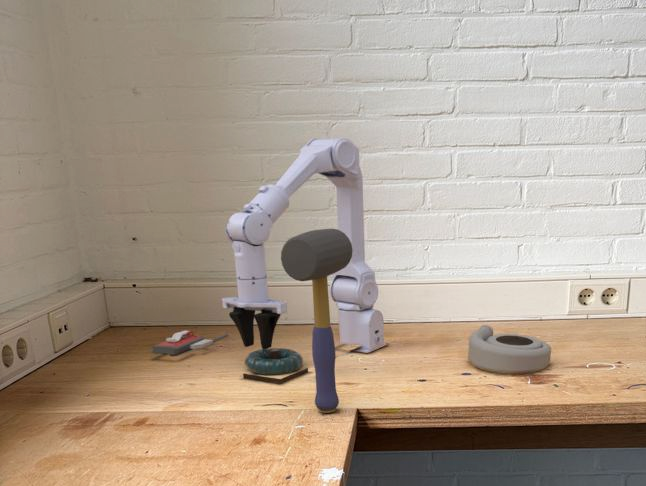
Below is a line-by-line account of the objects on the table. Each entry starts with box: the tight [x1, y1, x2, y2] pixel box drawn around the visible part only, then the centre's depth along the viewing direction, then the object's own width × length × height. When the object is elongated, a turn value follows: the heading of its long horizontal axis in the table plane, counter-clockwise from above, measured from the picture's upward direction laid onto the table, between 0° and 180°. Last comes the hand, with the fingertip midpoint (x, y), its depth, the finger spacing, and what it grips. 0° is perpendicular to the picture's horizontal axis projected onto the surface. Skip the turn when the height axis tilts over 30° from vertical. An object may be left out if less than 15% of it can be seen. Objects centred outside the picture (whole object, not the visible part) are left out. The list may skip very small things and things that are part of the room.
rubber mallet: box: [280, 228, 353, 414], centre depth 130 cm, size 12×8×30 cm, turn 157°
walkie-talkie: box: [151, 330, 229, 357], centre depth 177 cm, size 9×4×20 cm
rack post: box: [242, 349, 309, 385], centre depth 156 cm, size 9×9×5 cm
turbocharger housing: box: [467, 324, 552, 375], centre depth 159 cm, size 17×6×15 cm
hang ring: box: [244, 347, 304, 376], centre depth 156 cm, size 11×11×3 cm
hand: (257, 346), depth 157 cm, fingers open, 4 cm apart
